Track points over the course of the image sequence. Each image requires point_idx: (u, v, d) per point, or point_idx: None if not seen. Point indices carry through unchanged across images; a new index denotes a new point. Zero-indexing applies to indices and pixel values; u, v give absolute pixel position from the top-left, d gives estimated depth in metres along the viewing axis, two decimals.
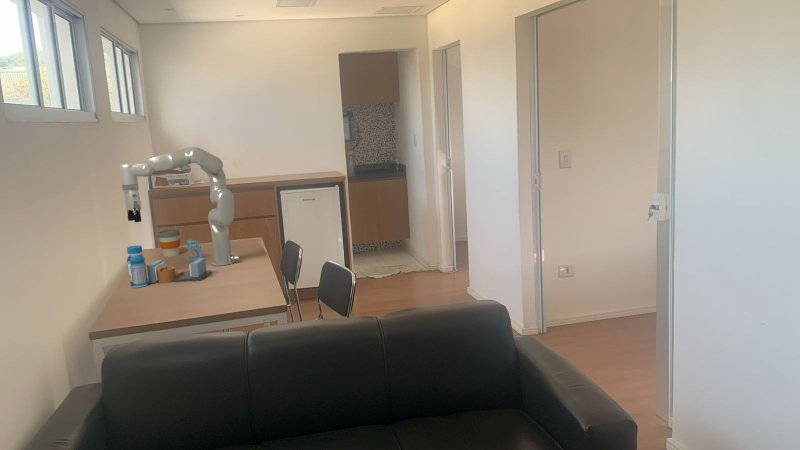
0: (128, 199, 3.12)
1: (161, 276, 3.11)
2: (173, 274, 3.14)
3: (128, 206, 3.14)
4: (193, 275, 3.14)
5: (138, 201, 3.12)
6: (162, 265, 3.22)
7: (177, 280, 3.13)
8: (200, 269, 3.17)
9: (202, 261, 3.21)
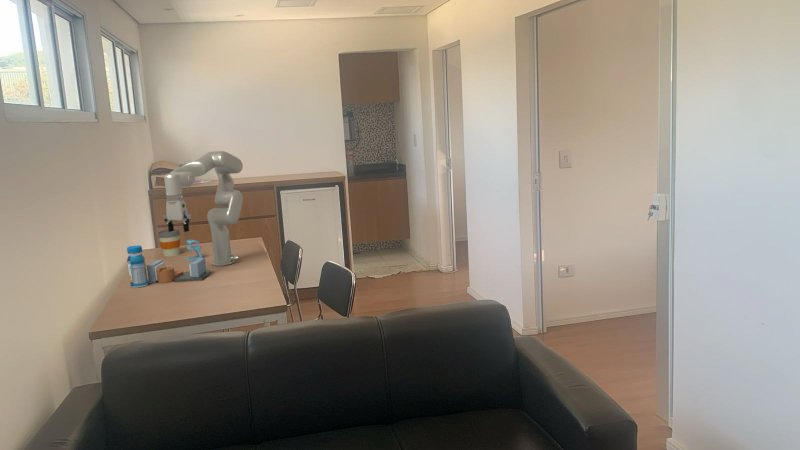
0: (176, 209, 3.12)
1: (160, 276, 3.11)
2: (172, 274, 3.14)
3: (174, 216, 3.13)
4: (193, 275, 3.14)
5: (186, 210, 3.15)
6: (162, 265, 3.22)
7: (177, 280, 3.13)
8: (200, 269, 3.17)
9: (202, 261, 3.21)
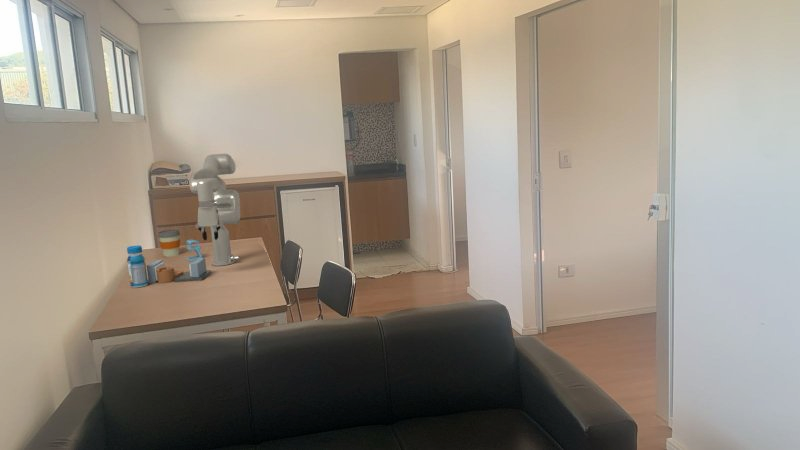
0: (211, 215, 3.13)
1: (160, 276, 3.11)
2: (172, 274, 3.14)
3: (208, 222, 3.14)
4: (193, 275, 3.14)
5: (219, 216, 3.17)
6: (162, 265, 3.22)
7: (177, 280, 3.13)
8: (200, 269, 3.17)
9: (202, 261, 3.21)
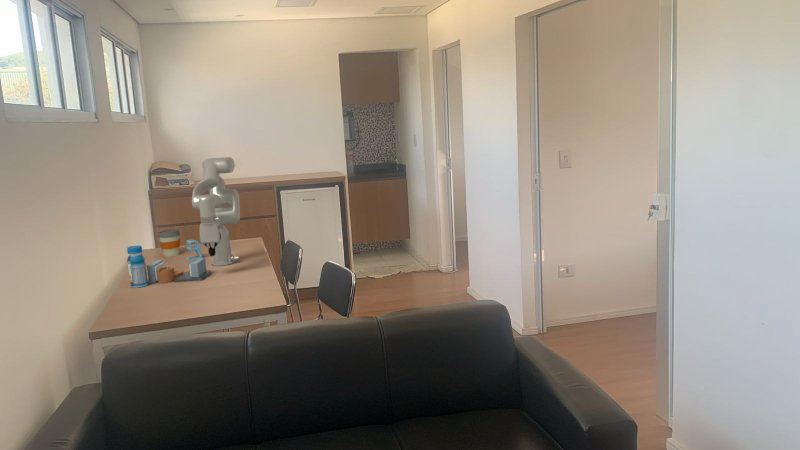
0: (212, 231, 3.14)
1: (160, 276, 3.11)
2: (172, 274, 3.14)
3: (210, 238, 3.15)
4: (193, 275, 3.14)
5: (220, 232, 3.18)
6: (162, 265, 3.22)
7: (177, 280, 3.13)
8: (200, 269, 3.17)
9: (202, 261, 3.21)
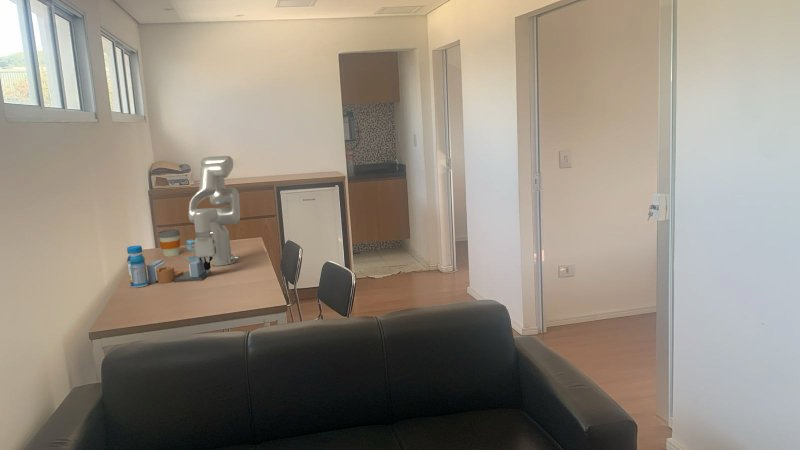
0: (207, 245, 3.16)
1: (160, 276, 3.11)
2: (172, 274, 3.14)
3: (205, 253, 3.16)
4: (193, 275, 3.14)
5: (215, 246, 3.20)
6: (162, 265, 3.22)
7: (177, 280, 3.13)
8: (199, 269, 3.17)
9: None
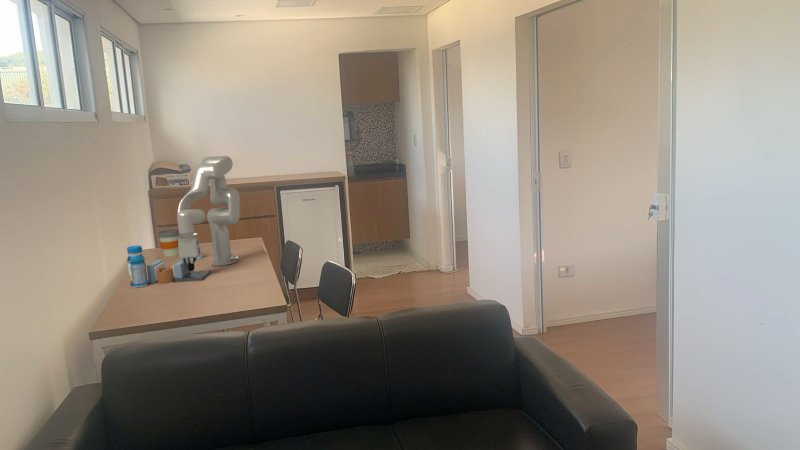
0: (191, 246, 3.16)
1: (160, 276, 3.11)
2: (172, 274, 3.14)
3: (188, 254, 3.16)
4: (176, 276, 3.14)
5: (199, 247, 3.20)
6: (162, 265, 3.22)
7: (177, 280, 3.13)
8: (183, 270, 3.17)
9: None
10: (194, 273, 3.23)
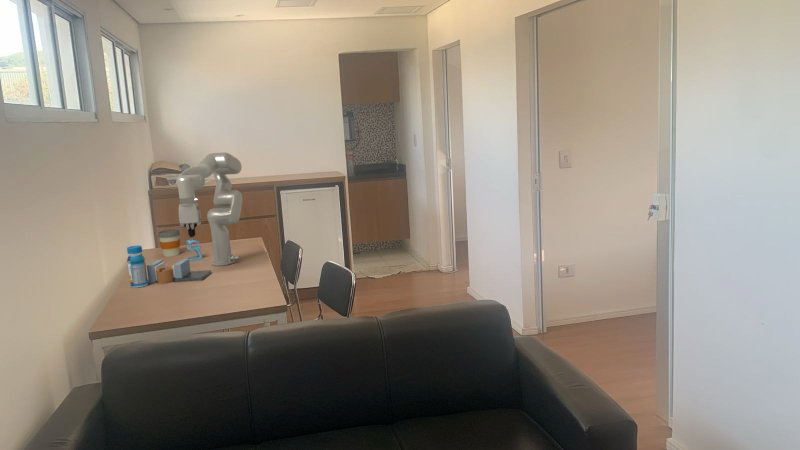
0: (192, 212, 3.13)
1: (160, 276, 3.11)
2: (172, 274, 3.14)
3: (189, 219, 3.14)
4: (176, 276, 3.14)
5: None
6: (162, 265, 3.22)
7: (177, 280, 3.13)
8: (183, 270, 3.17)
9: (186, 262, 3.21)
10: (194, 273, 3.23)
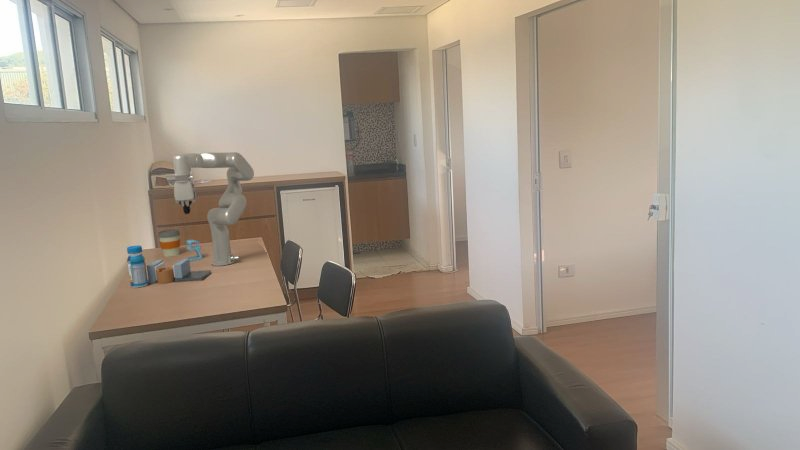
0: (187, 189, 3.21)
1: (160, 276, 3.10)
2: (172, 274, 3.13)
3: (184, 196, 3.22)
4: (176, 276, 3.14)
5: None
6: (162, 265, 3.22)
7: (177, 280, 3.13)
8: (183, 270, 3.17)
9: (186, 262, 3.21)
10: (194, 273, 3.23)
